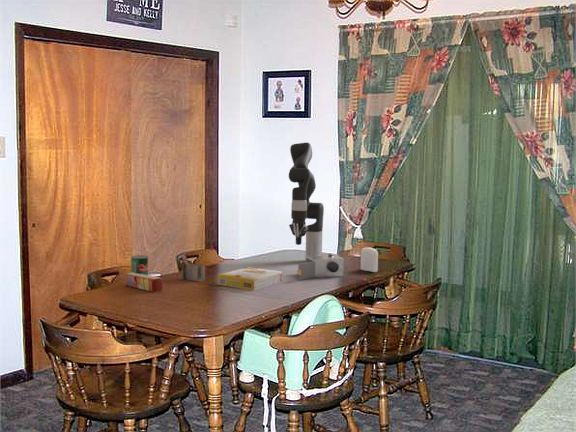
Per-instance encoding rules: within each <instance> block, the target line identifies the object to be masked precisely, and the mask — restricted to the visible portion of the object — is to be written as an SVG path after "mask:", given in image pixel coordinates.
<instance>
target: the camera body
mask: <svg viewBox="0 0 576 432" xmlns="http://www.w3.org/2000/svg"><path fill="white" fill-rule="evenodd" d="M344 260H345V258H344V257H341V256H339V255H337V254H334V253H328V254H322V255H311V256H306V261H305V263H307V262H313V261H315V277H314V278H329V277H330V278H331V277H344V267H345V266H344V262H345V261H344Z"/></svg>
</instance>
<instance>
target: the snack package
mask: <svg viewBox="0 0 576 432" xmlns="http://www.w3.org/2000/svg"><path fill="white" fill-rule="evenodd" d="M124 277H125V278H124V280H125V281H124V284H125V285H126V287H132V288H135V289H139V290H142V291H147V292H150V293H158V292H161V291H163V289H164V288H163V287H164V286H163V283H164V282H163V279H162V277H159V276H154V275H149V274H148V275H143V274H138V273H133V272H132V273H131V272H128V273H126V274H125V276H124Z"/></svg>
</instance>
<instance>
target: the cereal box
mask: <svg viewBox="0 0 576 432" xmlns="http://www.w3.org/2000/svg"><path fill="white" fill-rule="evenodd" d="M283 275H284V272H283V271H280V270H273V269H266V268H257V267H256V268H255V267H250V266H248V267H244V268H239V269H236V270H232V271H227V272H223V273H219V274H217V275H216V276H217V277H216V284H217V285H218V286H224V287H230V288H236V289H240V290H247V291H248V290H249V291H256V290H259V289H262V288H265V287H267V286H270V285H273V284H276V283H279V282H283Z"/></svg>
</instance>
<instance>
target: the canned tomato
mask: <svg viewBox="0 0 576 432" xmlns="http://www.w3.org/2000/svg"><path fill="white" fill-rule="evenodd" d="M130 258H131V260H130V263H131V264H130V265H131V266H130V267H131V268H130V269H131V270H130V271H131V272H130V273H132V272H133V273H138V274H143V275H149V256H148V255H140V254H139V255H138V254H137V255H132V256H131V257H130Z"/></svg>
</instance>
